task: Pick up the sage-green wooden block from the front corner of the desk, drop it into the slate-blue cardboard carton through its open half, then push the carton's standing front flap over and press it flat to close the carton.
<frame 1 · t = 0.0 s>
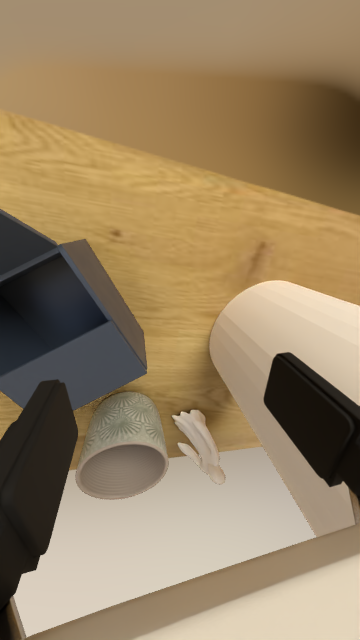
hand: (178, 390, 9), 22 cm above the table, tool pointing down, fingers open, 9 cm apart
pipe: (240, 333, 36), on the table
figurine: (188, 417, 42), on the table
planter: (126, 408, 38), on the table
carton: (76, 311, 28), on the table
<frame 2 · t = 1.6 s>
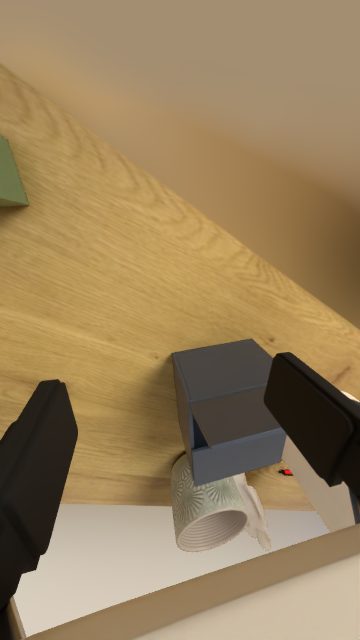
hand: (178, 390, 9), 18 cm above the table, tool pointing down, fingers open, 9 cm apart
pipe: (302, 420, 45), on the table
pen: (303, 470, 54), on the table
figurine: (232, 475, 48), on the table
planter: (195, 460, 42), on the table
carton: (213, 383, 34), on the table
flap: (265, 406, 18), point 13 cm above the table, hinge at 115.0°
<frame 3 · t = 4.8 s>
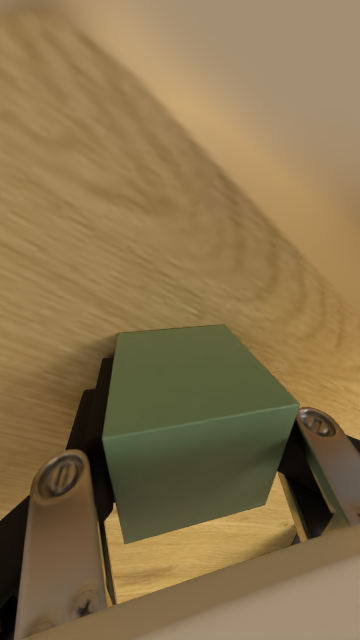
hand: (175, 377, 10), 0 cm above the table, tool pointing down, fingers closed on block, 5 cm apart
block: (173, 372, 10), on the table, touching gripper
when the fingers open (8 cm above the table, at t = 12.6 s): block drops 7 cm, resting on carton.
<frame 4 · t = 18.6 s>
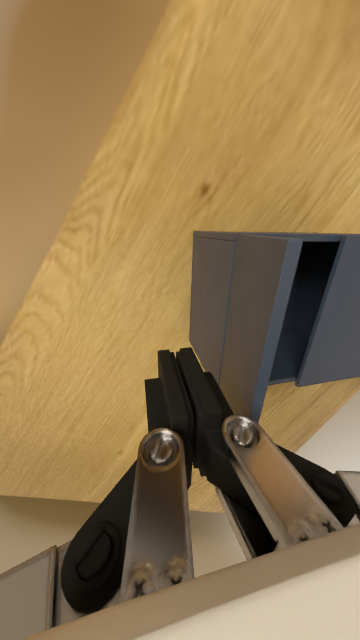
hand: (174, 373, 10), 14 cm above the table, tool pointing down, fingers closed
carton: (249, 289, 25), on the table
flap: (237, 362, 11), point 14 cm above the table, hinge at 107.5°
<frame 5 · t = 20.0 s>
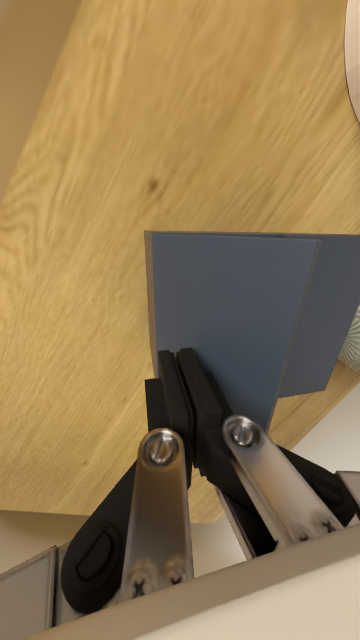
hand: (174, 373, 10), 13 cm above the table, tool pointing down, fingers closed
planter: (343, 312, 29), on the table
carton: (213, 293, 23), on the table
flap: (200, 372, 10), point 13 cm above the table, hinge at 60.1°, touching gripper
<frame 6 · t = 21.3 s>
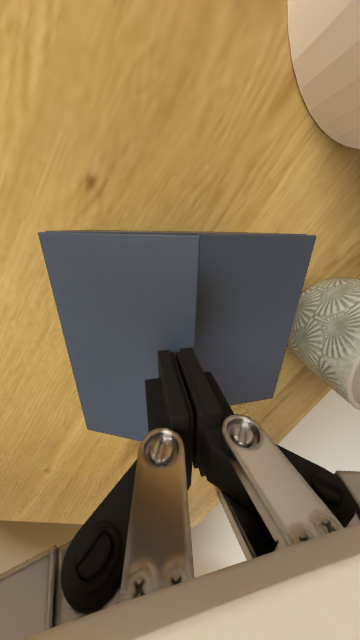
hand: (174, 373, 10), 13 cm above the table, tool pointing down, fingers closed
pipe: (356, 47, 17), on the table
planter: (311, 314, 28), on the table
carton: (168, 295, 22), on the table
flap: (128, 359, 11), point 12 cm above the table, hinge at 24.1°
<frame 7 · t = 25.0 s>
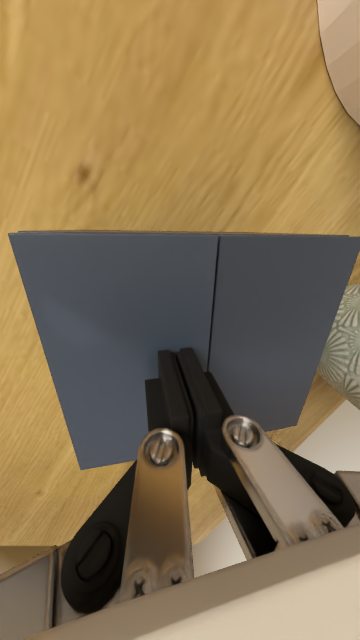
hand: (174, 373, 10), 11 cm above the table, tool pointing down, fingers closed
planter: (328, 322, 26), on the table
carton: (172, 303, 20), on the table
flap: (135, 374, 10), point 10 cm above the table, hinge at 1.6°, touching gripper
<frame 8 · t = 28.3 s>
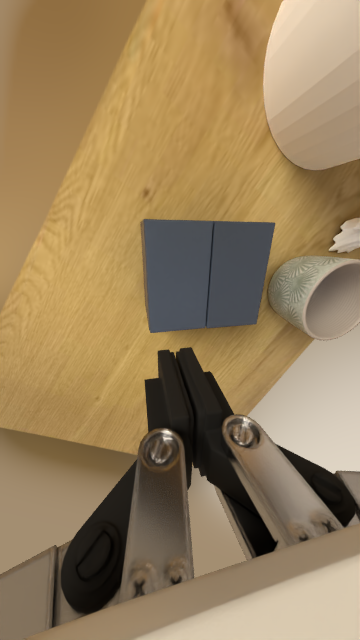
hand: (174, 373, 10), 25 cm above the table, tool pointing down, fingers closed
pipe: (306, 111, 28), on the table
figurine: (344, 236, 38), on the table
planter: (288, 284, 39), on the table
carton: (188, 266, 34), on the table
flap: (179, 281, 24), point 10 cm above the table, hinge at -1.2°
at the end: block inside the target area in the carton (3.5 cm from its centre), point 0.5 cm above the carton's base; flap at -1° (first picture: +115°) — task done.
